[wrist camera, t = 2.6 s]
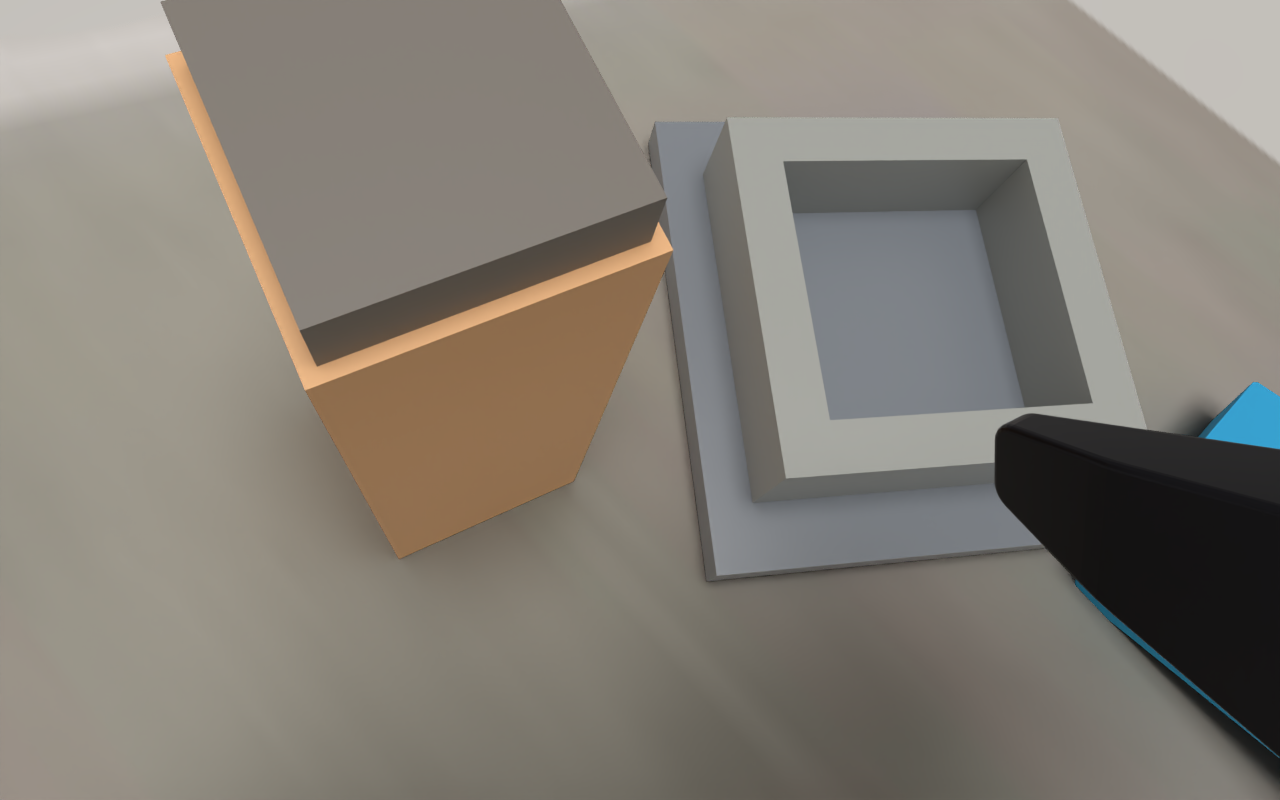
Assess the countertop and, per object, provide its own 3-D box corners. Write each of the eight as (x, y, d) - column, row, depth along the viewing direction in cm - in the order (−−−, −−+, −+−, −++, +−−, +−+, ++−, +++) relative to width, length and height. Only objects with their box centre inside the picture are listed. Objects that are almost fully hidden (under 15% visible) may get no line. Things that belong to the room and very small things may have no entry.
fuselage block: (574, 481, 22) (692, 206, 10) (398, 559, 21) (286, 356, 9) (499, 324, 23) (522, -104, 11) (327, 390, 22) (134, -9, 10)
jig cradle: (1114, 541, 24) (1215, 515, 21) (706, 581, 22) (747, 560, 18) (1008, 142, 27) (1080, 66, 24) (648, 143, 25) (673, 60, 22)
